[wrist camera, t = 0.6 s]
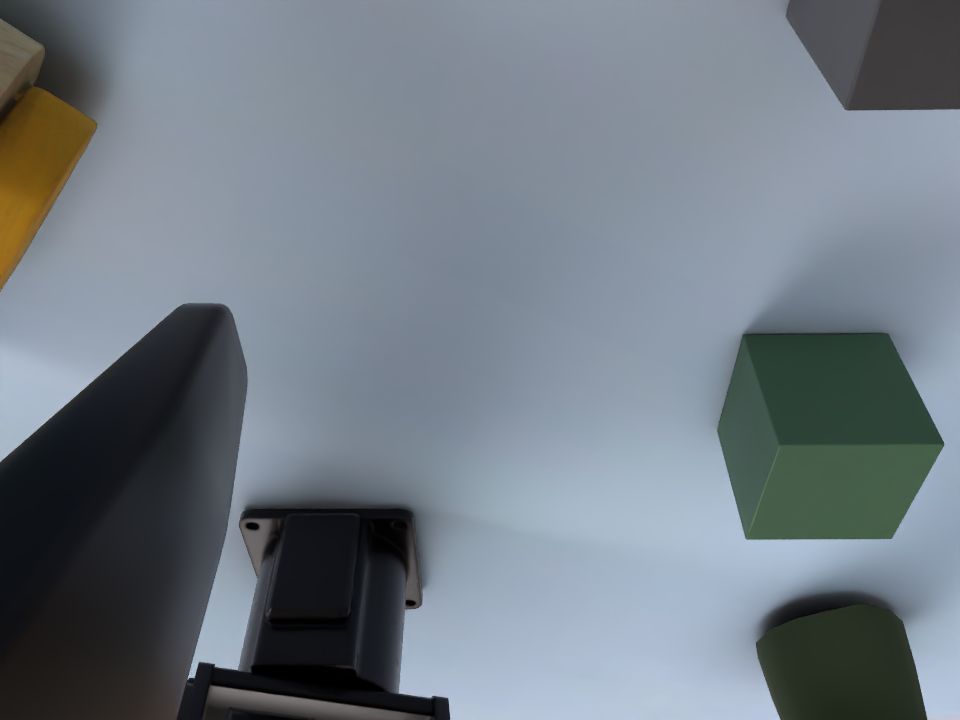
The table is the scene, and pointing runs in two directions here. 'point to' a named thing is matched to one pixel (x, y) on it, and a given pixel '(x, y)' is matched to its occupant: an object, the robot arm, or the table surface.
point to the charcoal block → (884, 50)
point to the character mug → (842, 667)
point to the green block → (824, 436)
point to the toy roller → (31, 145)
